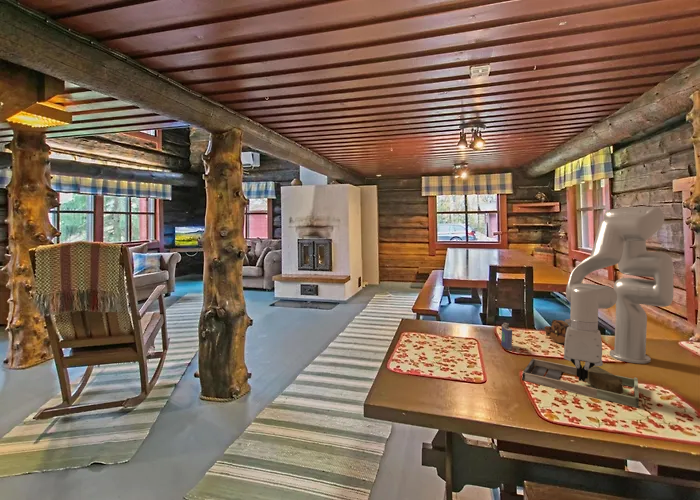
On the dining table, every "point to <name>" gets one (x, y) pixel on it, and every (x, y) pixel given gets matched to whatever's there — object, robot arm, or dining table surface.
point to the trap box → (553, 381)
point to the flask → (506, 337)
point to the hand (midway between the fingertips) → (582, 379)
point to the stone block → (604, 380)
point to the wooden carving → (557, 331)
